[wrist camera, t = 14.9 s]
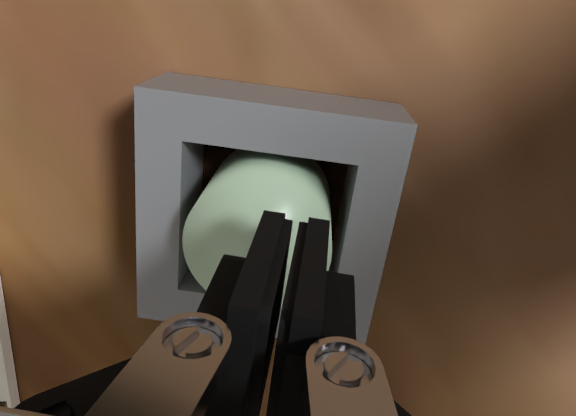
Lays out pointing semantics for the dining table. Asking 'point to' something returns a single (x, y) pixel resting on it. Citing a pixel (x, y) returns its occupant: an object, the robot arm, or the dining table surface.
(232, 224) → the button
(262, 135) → the button housing
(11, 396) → the picture card
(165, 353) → the robot arm
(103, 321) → the dining table surface
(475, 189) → the dining table surface
